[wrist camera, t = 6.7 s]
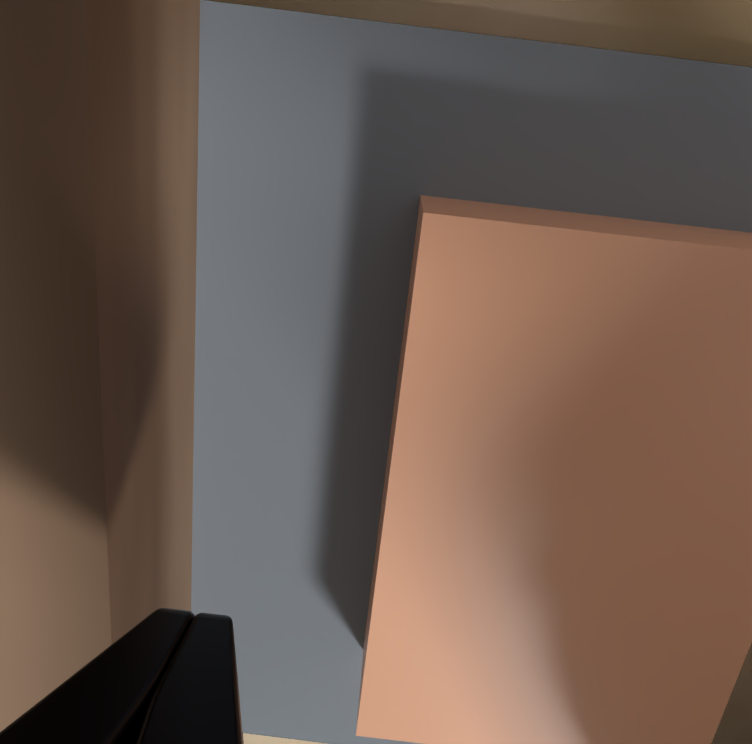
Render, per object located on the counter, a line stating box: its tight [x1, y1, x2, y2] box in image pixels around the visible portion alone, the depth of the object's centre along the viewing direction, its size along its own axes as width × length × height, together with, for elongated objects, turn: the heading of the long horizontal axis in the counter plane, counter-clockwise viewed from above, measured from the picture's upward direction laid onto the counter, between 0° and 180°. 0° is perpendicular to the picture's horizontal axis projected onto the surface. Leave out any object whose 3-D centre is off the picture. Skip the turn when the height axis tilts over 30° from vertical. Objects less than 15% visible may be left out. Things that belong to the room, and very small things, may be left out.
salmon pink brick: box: [356, 195, 752, 744], centre depth 11 cm, size 6×9×2 cm, turn 174°
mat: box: [191, 0, 752, 744], centre depth 12 cm, size 9×14×1 cm, turn 174°
